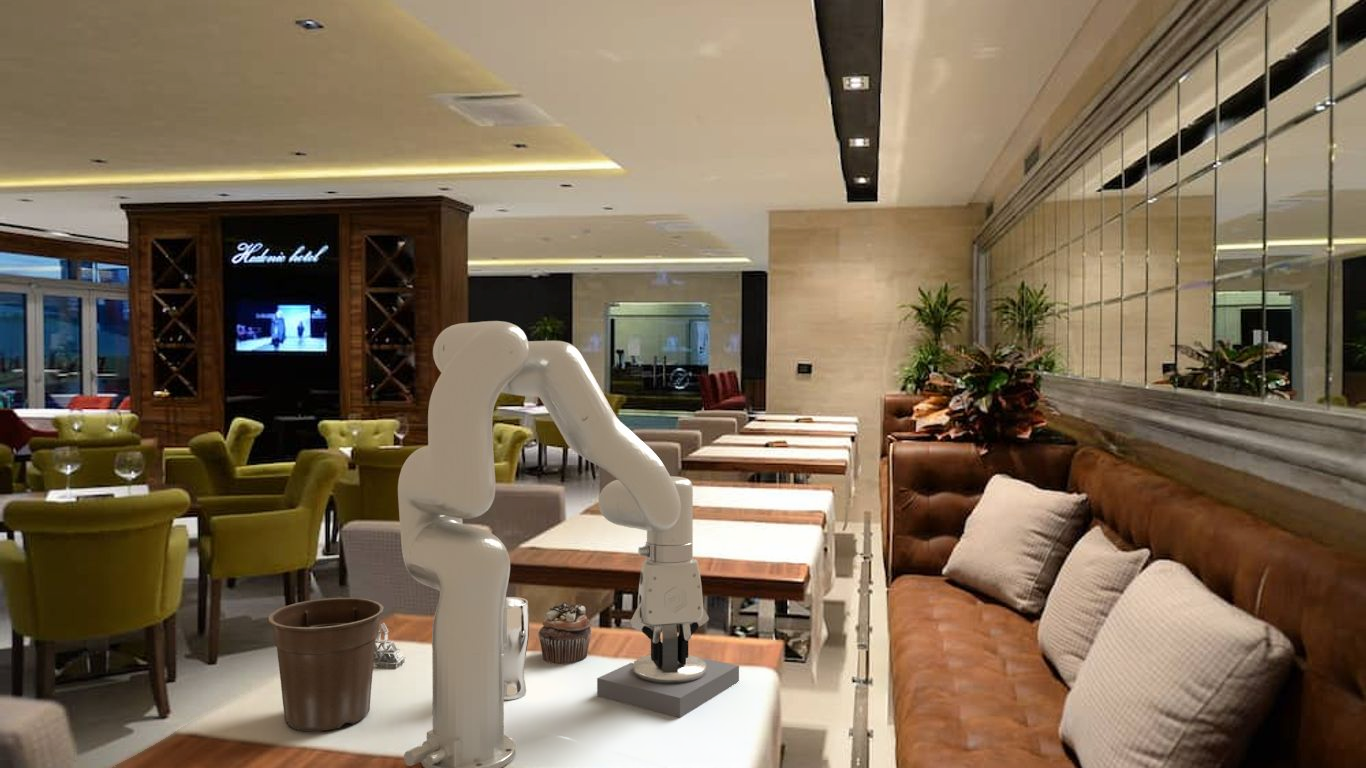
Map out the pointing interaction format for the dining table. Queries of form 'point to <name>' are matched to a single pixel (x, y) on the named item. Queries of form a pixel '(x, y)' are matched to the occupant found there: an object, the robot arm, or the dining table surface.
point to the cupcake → (565, 634)
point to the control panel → (667, 688)
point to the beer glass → (515, 646)
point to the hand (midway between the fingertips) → (669, 662)
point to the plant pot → (326, 660)
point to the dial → (669, 662)
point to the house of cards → (387, 652)
